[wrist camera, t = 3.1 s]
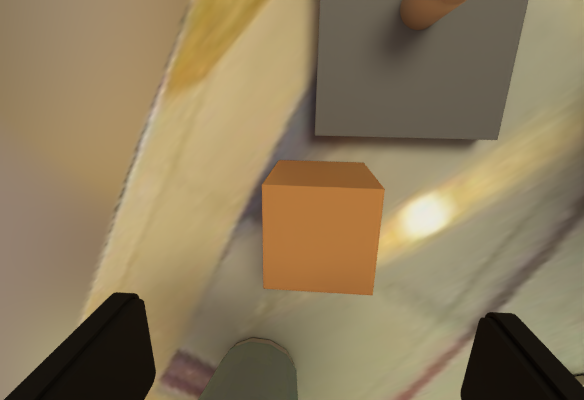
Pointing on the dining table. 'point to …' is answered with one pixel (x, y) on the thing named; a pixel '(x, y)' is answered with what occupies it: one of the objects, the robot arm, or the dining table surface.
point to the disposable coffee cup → (253, 374)
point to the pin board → (415, 67)
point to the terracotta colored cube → (321, 227)
